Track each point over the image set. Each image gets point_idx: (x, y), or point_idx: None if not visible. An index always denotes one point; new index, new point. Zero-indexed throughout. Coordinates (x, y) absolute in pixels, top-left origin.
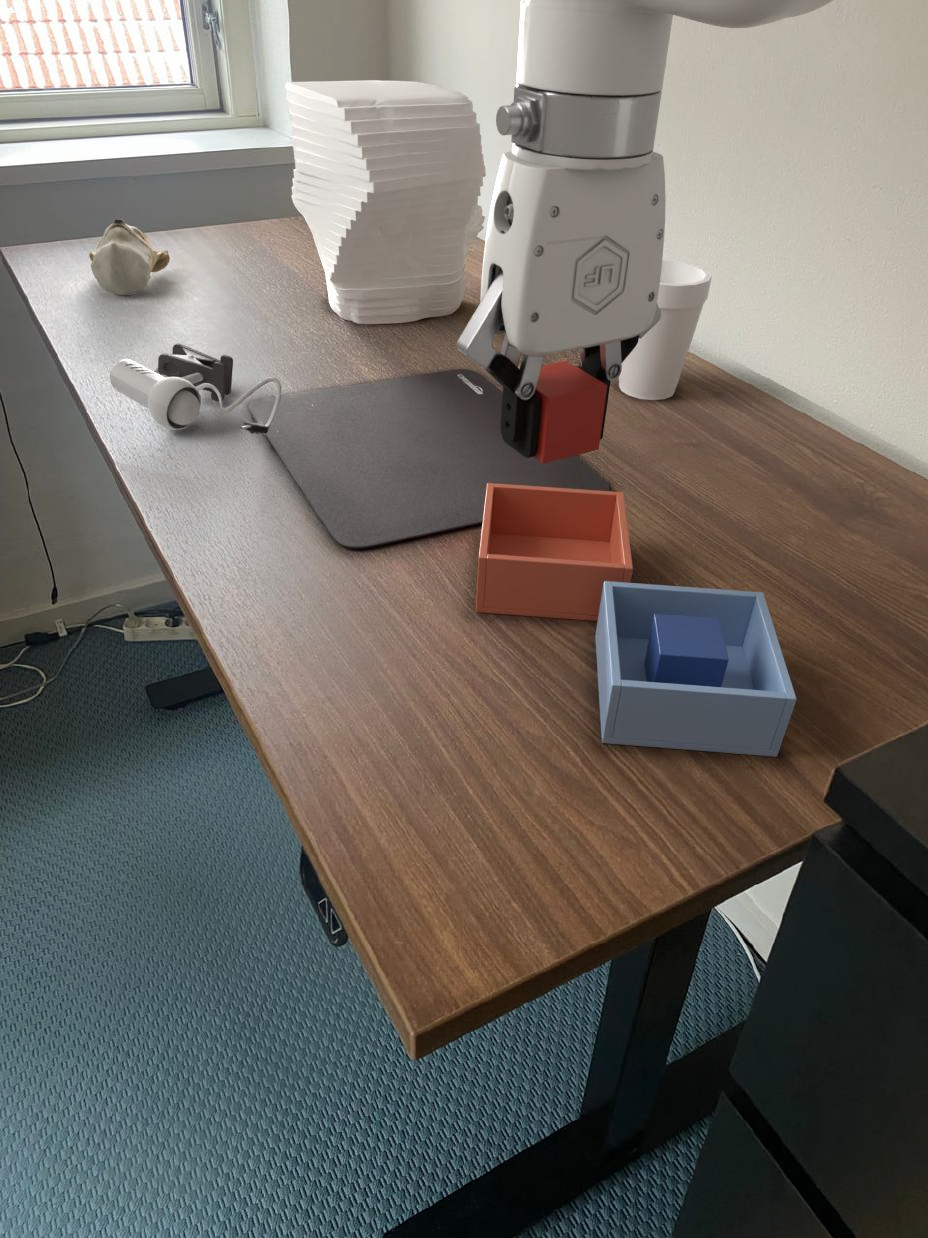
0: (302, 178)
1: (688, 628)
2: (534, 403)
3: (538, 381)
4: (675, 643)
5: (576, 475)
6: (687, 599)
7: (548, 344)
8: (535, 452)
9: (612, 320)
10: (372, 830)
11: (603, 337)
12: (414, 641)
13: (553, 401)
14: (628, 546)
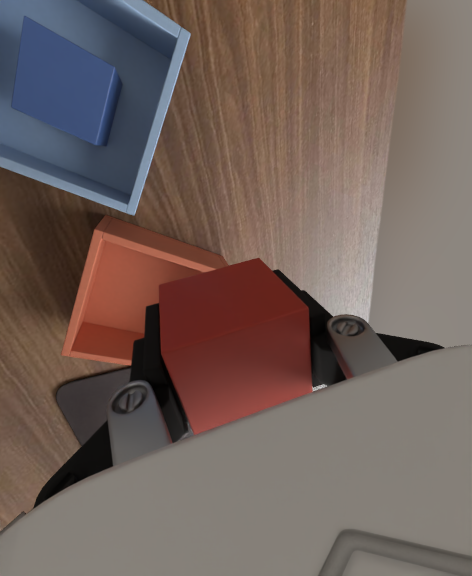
0: None
1: (61, 102)
2: (319, 310)
3: (290, 371)
4: (88, 78)
5: (83, 408)
6: (41, 169)
7: (458, 368)
8: None
9: (222, 520)
10: (371, 44)
11: (242, 436)
12: (274, 234)
13: (293, 306)
14: (86, 267)
